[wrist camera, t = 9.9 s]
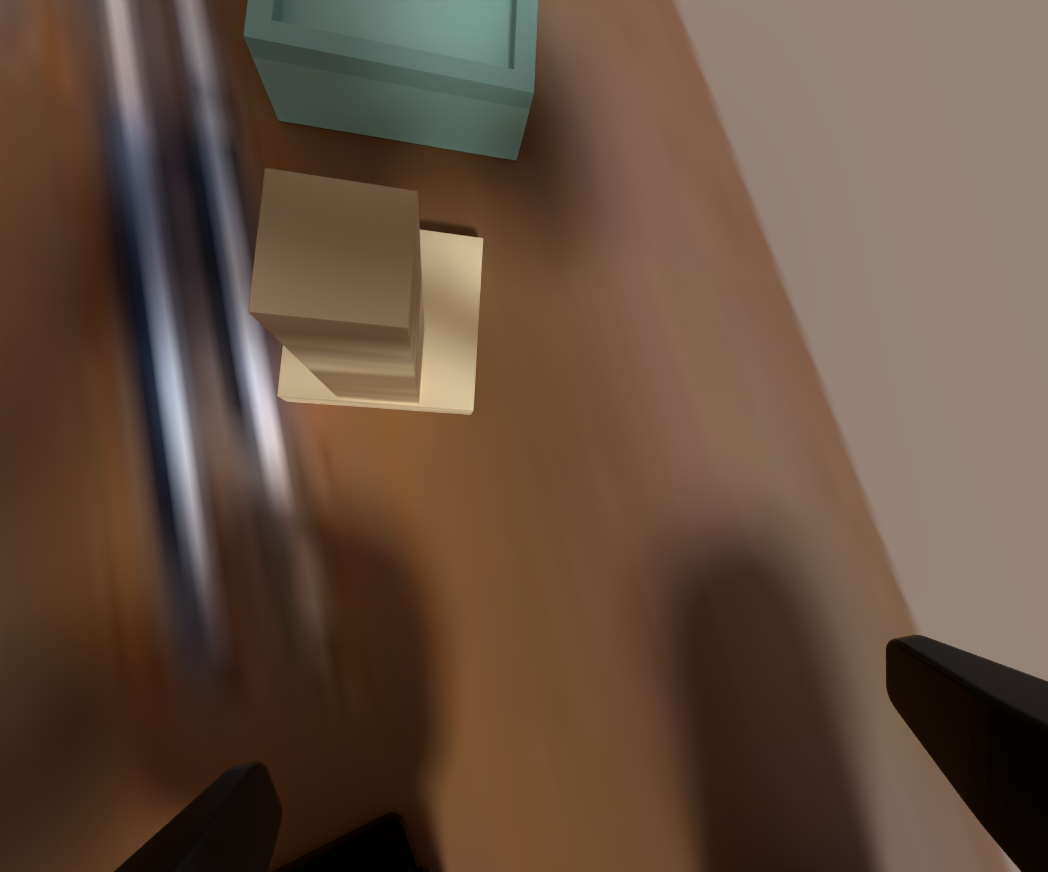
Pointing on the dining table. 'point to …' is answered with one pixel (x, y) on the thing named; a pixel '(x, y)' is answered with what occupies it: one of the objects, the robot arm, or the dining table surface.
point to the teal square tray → (401, 68)
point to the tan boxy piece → (365, 296)
